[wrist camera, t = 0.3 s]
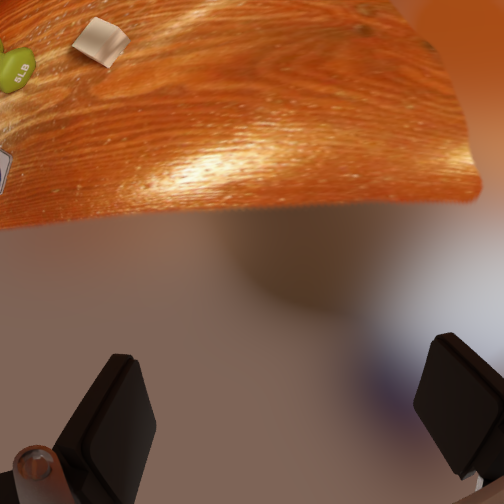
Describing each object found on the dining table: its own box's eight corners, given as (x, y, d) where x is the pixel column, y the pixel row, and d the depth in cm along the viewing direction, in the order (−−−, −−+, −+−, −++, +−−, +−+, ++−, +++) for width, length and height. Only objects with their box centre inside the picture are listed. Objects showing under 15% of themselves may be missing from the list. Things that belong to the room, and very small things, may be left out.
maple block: (108, 30, 31) (95, 16, 26) (131, 41, 31) (118, 27, 27) (87, 56, 32) (71, 45, 27) (109, 68, 32) (93, 57, 27)
